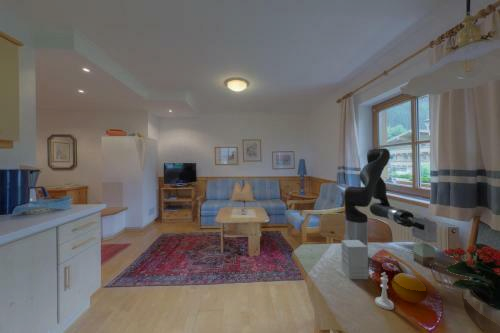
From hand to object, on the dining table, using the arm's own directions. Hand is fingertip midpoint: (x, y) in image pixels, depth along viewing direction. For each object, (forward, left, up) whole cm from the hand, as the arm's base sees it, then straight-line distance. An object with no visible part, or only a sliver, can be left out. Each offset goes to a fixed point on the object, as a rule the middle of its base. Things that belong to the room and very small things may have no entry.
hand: (429, 227), depth 86 cm
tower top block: (0, +3, -13) cm, 13 cm away
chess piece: (-34, -23, -17) cm, 45 cm away
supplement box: (-35, -6, -17) cm, 39 cm away
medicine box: (0, +3, -6) cm, 7 cm away
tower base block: (0, +3, -17) cm, 17 cm away
